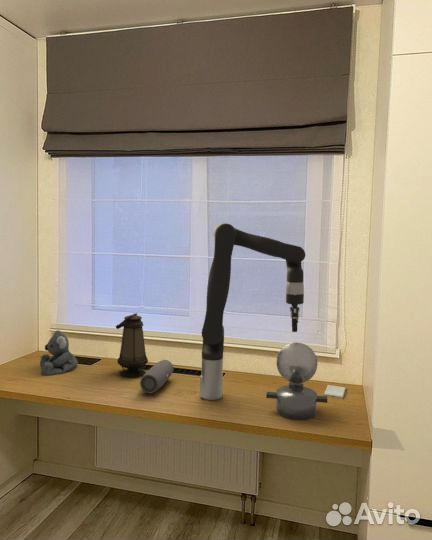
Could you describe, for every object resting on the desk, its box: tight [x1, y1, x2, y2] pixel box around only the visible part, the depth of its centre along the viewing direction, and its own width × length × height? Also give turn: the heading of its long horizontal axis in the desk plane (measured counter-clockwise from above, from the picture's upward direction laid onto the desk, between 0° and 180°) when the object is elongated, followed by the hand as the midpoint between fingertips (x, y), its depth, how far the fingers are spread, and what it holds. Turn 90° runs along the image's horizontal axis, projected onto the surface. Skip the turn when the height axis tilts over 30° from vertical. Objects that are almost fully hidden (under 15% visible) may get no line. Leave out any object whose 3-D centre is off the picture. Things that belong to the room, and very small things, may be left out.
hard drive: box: [323, 384, 347, 400], centre depth 201 cm, size 2×8×12 cm
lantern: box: [115, 313, 149, 379], centre depth 219 cm, size 18×15×30 cm
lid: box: [276, 341, 318, 387], centre depth 188 cm, size 17×18×4 cm
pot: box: [265, 384, 328, 421], centre depth 178 cm, size 24×16×8 cm, turn 81°
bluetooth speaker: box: [139, 359, 174, 394], centre depth 202 cm, size 23×9×10 cm, turn 168°
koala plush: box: [39, 329, 79, 377], centre depth 223 cm, size 17×18×20 cm
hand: (294, 329), depth 192 cm, fingers open, 8 cm apart
